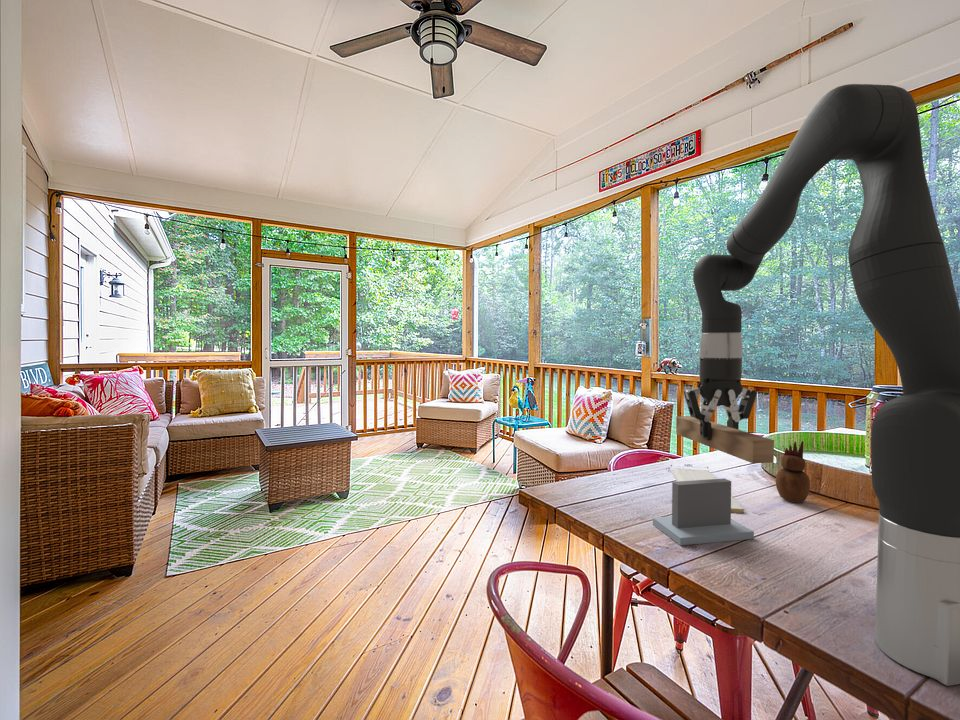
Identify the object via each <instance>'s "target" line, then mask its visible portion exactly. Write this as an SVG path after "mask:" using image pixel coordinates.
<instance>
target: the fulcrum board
mask: <svg viewBox="0 0 960 720" xmlns="http://www.w3.org/2000/svg"><path fill="white" fill-rule="evenodd" d="M671 485H672V486H671V488H672V489H671V492H672V493H671V515H669V516H657V517H656V516H655V517H652V525H653V526H654V527H655V526H656V527H655V528H657V529H658V530H659V529H660V530H659V531H661V532H662V533H663V532H664V534H665V535H666V534H667V535H668V536H667V535H666V536H667V537H668V538H670V539H671V538H672V539H673V541H674V542H675V543H676V542H677V543H676V544H678V545H679V546H689V545H698V544H699V545H700V544H701V545H702V544H709V543H711V544H712V543H721V542H732V541H733V542H734V541H743V540H752V539H755V538H754V537H755V531H754V530H752V529H750V528H749V527H746V526H745V525H743V524H742V523H740V522H738V521H737V520H734V519H733V518H731V517H732V512H731V496H732V481H731V480H729V479H727V478H725V477H724V478H716V479H708V480H694V481H679V482H677V481H672V483H671ZM672 539H671V540H672Z"/></svg>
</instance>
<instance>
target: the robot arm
mask: <svg viewBox="0 0 960 720" xmlns="http://www.w3.org/2000/svg"><path fill="white" fill-rule="evenodd" d="M918 113H919V112H918V108H917V104H916V102H915V100H914V98H913V96H912V94H911V93H910V92H909V91H907V90H906V89H905V88H903V87H899V86H898V85H897V86H896V85H893V84H872V83H871V84H870V83H869V84H868V83H864V84H863V83H861V84H860V83H850V84H848V83H847V84H844V85H839V86H836V87H835V88H833V89H831V90H830V91H828V92H827V93H826V94H825V95H823V96H822V97H821V98H820V99H819V100H818V101H817V102H816V103H815V104H814V106H813V107H812V108H811V110H810V111H809V112H808V114H807V116H806V117H805V119H804V120H803V122H802V124H801V125H800V127H799V129H798V130H797V133H796V134H795V136H794V138H793V139H792V140H791V142H790V144H789V147H788V148H787V150H786V151H785V153H784V155H783V156H782V158H781V160H780V162H778V163H779V164H778V165H777V167H776V169H775V171H774V173H773V174H772V176H771V177H770V179H769V181H768V183H767V184H766V186H765V187H764V190H763V191H762V193H761V194H760V196H759V197H758V198H757V200H756V201H755V203H754V204H753V206H752V207H751V208H750V209H749V211H748V212H747V213H746V215H744V217H743V218H742V219H741V220H740V222H739V223H738V224H737V225H736V227H734V229H733V230H732V232H731V233H730V234H729V236H728V238H727V240H726V242H725V243H726V245H725V246H726V250H727V251H728V253H729V254H706V255H704V256H702V257H700V258H699V259H698V261H697V262H696V263H695V265H694V268H693V272H692V279H693V284H694V285H693V286H694V288H695V292H696V295H697V299H698V304H699V306H700V310H701V334H700V335H701V336H700V340H699V341H700V343H699V372H698V373H699V374H698V375H699V383H698V384H697V386H696V387H695V388H692V389H687V388H686V389H684V390H683V395H684V398H685V402H686V405H687V409H688V412H689V416H691V417H694V418H696V419H699V420H700V435H701V436H702V438H703V439H704V440H706V441H707V440H711V422H712V421H711V419H712V417H713V413H714V412H715V411H716V409H717V407H720V406H722V407H723V409H724V410H725V412H726V417H727V420H726V426H728V427H731V428H735V429H738V430H740V429H739V427H740V426H739V424H740V421H742V420H747V419H749V418H750V416H751V412H752V409H753V406H754V403H755V401H756V398H757V394H758V392H757V390H755V389H750V388H745V387H743V385H742V382H741V381H742V373H743V353H744V352H743V338H742V321H743V320H742V319H743V317H742V316H743V315H742V314H743V313H742V307H741V306H740V305H739V304H737V303H736V302H731V301H728V300H726V299H725V298H724V294H723V292H725V291H727V292H729V291H730V292H735V291H739V290H742V289H743V288H745V287H747V286H748V285H749V284H750V283H752V281H753V280H754V278H755V277H756V276H755V275H756V274H757V271H758V269H759V267H760V266H761V264H762V262H763V259H764V257H765V256H766V254H767V253H769V251H770V250H772V248H773V247H774V246H775V245H776V244H777V243H778V242H779V241H780V240H781V239H782V238H783V237H784V235H785V234H786V233H787V232H788V231H789V229H790V228H791V227H792V224H793V222H794V220H795V218H796V215H797V211H798V207H799V202H800V199H801V196H802V193H803V191H804V189H805V187H806V185H808V183H809V182H810V181H811V179H812V178H814V176H815V175H816V174H817V173H818V172H819V171H821V169H823V168H824V167H825V166H826V165H827V164H828V163H830V162H831V161H838V160H839V161H848V160H849V161H853V162H854V163H855V166H856V168H857V171H858V173H859V178H860V182H861V186H862V190H863V191H862V193H863V204H862V209H861V212H860V216H859V218H858V219H857V222H856V225H855V227H854V229H853V230H854V231H853V233H852V235H851V239H850V242H849V247H848V252H847V254H848V256H847V257H848V264H849V269H850V275H851V279H852V283H853V288H854V291H855V294H856V297H857V300H858V301H857V302H858V303H859V305H860V307H861V309H862V311H863V312H864V314H865V316H866V317H867V319H868V320H869V321H870V323H871V325H872V326H873V327H874V329H875V330H876V331H877V333H878V334H879V336H880V337H881V338H882V340H883V341H884V342H885V343H886V345H887V347H888V348H889V350H890V352H891V354H892V355H893V357H894V359H895V362H896V365H897V369H898V372H899V378H900V381H901V382H900V383H901V387H902V395H901V396H898V397H897V396H896V397H895V398H892V399H890V400H888V401H886V402H885V403H884V404H882V405H881V406H880V407H879V409H878V410H877V411H876V413H875V415H874V418H873V420H872V424H871V431H870V464H871V465H870V466H871V484H872V490H873V492H874V495H875V497H876V498H877V500H878V533H877V535H878V536H877V561H876V562H877V563H876V565H877V566H876V593H875V594H876V595H875V599H876V600H875V601H876V602H875V629H874V631H875V633H874V635H875V636H874V639H875V641H874V642H875V643H876V645H877V647H878V648H879V649H880V650H881V651H882V652H883V653H884V654H885V655H886V656H888V657H889V658H890V659H891V660H893V661H895V662H896V663H898V664H900V665H902V666H904V667H905V668H907V669H910V670H911V671H914V672H916V673H918V674H921V675H923V676H927V677H929V678H932V679H934V680H937V681H938V682H940V683H941V684H943V685H945V686H947V687H948V686H949V687H950V686H955V685H956V686H957V685H960V305H959V301H958V297H957V293H956V289H955V284H954V279H953V274H952V269H951V266H950V262H949V257H948V254H947V251H946V246H945V242H944V240H943V238H942V234H941V231H940V229H939V228H940V227H939V225H938V221H937V217H936V214H935V209H934V204H933V201H932V196H931V192H930V187H929V184H928V181H927V177H926V172H925V166H924V165H925V164H924V157H923V149H922V138H921V130H920V129H921V128H920V119H919V118H920V117H919V114H918ZM722 291H723V292H722ZM699 394H700V396H701V397H702V401H701V405H699V403H698V399H699V397H700V396H699ZM739 396H740V398H741V399H740V402H739V404H738V401H737V399H738V398H739ZM738 405H739V406H738ZM709 421H711V422H709Z"/></svg>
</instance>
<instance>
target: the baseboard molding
mask: <svg viewBox="0 0 960 720" xmlns="http://www.w3.org/2000/svg"><path fill="white" fill-rule="evenodd" d="M672 466H673V465H672V464H671V465H670V467H666V470H667V471H668V472H669V471H670V473H671V474H672V476H673V478H674V480H675V482H679V481H694V480H708V479H717V478H716V477H715V475H713V473H711V471H710V470H709V466H708V465H707V467H706V466H705V467H704V468H707V469H698V468H695V469H691V468H690V467H692V464H684V467H689V468H677V467H676V468H675V469H671V467H672ZM736 512H738V514H744V512H745V510H744V507H742V505H741V504H740V503H739V502H738V501H737V500H736V499H735V498H734V497H733V496H732V495H731V513H736Z"/></svg>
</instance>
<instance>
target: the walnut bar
mask: <svg viewBox="0 0 960 720" xmlns="http://www.w3.org/2000/svg"><path fill="white" fill-rule="evenodd" d="M709 422H711V440H707V441H706V440H704V439H703V438H702V436H701V435H700V420H699V419H696V418H694V417H691V416H690V415H686V416H676V417H675V423H676V424H675V426H676V427H675V430H676V431H675V434H676V435H678V436H681V437H683V438H686V439H688V440H691V441H694V442H695V443H698V444H701V445H704V446H706V447H709V448H712V449H714V450H717V451H719V452H722V453H724V454H727V455H730V456H732V457H736V458H738V459H740V460H744V461H745V462H749V463H751V464H766V463H767V464H768V463H775V462H774V457H775V456H774V455H775V439H771V438H769V437H768V438H767V437H764V436H761V435H759V434H754V433H751V432H748V431H744V430H741V429H739V430H738V429H735V428H731V427H728V426H727V425H724V424H720V423H718V422H714V421H711V420H710V421H709Z"/></svg>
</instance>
